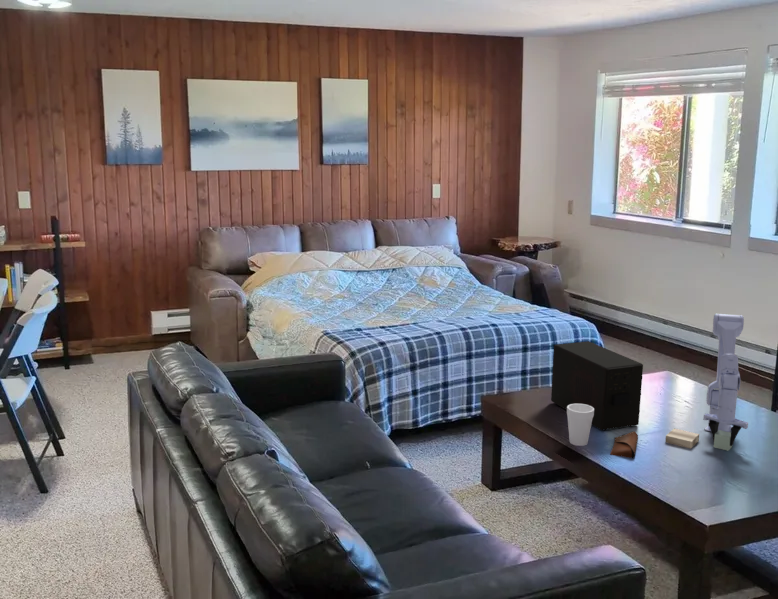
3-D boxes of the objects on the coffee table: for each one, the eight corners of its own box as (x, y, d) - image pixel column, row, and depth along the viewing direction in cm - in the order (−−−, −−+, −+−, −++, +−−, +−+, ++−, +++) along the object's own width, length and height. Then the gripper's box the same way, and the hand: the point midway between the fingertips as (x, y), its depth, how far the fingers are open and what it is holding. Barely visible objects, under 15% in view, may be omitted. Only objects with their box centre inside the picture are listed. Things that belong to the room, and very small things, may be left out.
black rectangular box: (648, 428, 298) (653, 364, 293) (605, 435, 291) (609, 370, 286) (589, 397, 332) (593, 339, 327) (549, 402, 325) (552, 344, 320)
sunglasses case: (613, 436, 289) (624, 422, 287) (629, 448, 288) (640, 434, 286) (609, 455, 273) (620, 440, 271) (626, 467, 272) (638, 453, 269)
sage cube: (717, 443, 284) (718, 429, 283) (732, 446, 281) (733, 433, 280) (713, 447, 280) (714, 434, 279) (728, 450, 277) (729, 437, 276)
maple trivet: (673, 436, 292) (674, 428, 291) (698, 441, 286) (699, 434, 286) (665, 443, 285) (665, 435, 284) (690, 449, 279) (691, 441, 279)
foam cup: (595, 440, 286) (597, 406, 283) (587, 449, 278) (590, 414, 275) (569, 435, 290) (571, 401, 288) (561, 444, 282) (563, 409, 280)
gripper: (702, 405, 279) (698, 441, 282) (745, 414, 270) (742, 451, 273) (708, 400, 284) (704, 435, 287) (751, 408, 276) (747, 445, 279)
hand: (723, 443), depth 281 cm, fingers closed on sage cube, 5 cm apart
